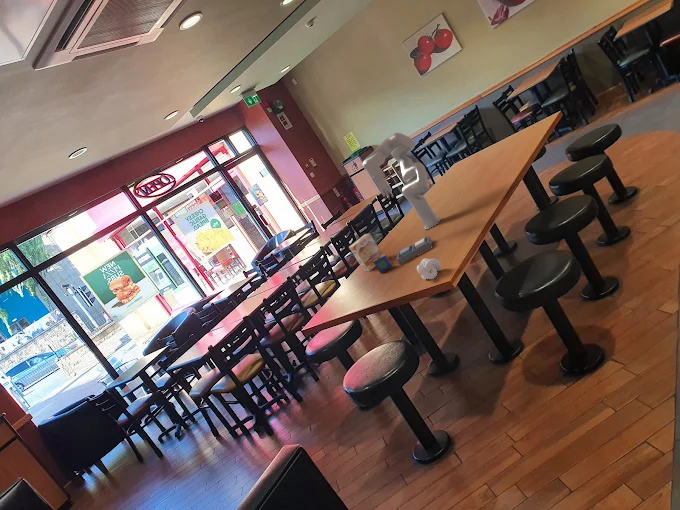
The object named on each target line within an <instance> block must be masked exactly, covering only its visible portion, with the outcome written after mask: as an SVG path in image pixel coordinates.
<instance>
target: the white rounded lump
mask: <svg viewBox="0 0 680 510" xmlns="http://www.w3.org/2000/svg"><path fill="white" fill-rule="evenodd" d="M441 268H442V264H441V261H440V260H439V259H437V258H434V257H433V258H430V259H429V258H423V259H422V260H421V261H420V263H419V264H418V265H417V266H416V271H417V273H418V274H419V275H420V276H421V278H422V279H423V280H424V281H427V280H434V278H435V277H436V276H437V277H438V275H439V272H440V270H441ZM437 271H438V272H437ZM437 274H438V275H437ZM437 277H436V278H437ZM436 278H435V279H436ZM426 279H427V280H426Z"/></svg>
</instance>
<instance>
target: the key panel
mask: <svg viewBox="0 0 680 510" xmlns="http://www.w3.org/2000/svg"><path fill="white" fill-rule="evenodd" d="M423 238H424V239H425V240H426V242H427V243H425V244H423V245H422V246H420V247H418V248H415V243H413V244H412V245H409V246H410V248H411V249H412V251H411V252H409V253H407V254H405V255H403V256H402V257H401V255H400V251H399V252H398V253H397V257H396V261H397V264H399V265H400V266H402V265H404V264H405V263H407V262H409V261H411V260H412V258H413V257H415V256H417V255H418V254H420V253H422V252H424V251H426V250H427V249H429V248H431V246H432V247H433V240H432V239H431V237H430V235H427V236H426V237H423ZM431 249H432V248H431ZM429 250H430V249H429ZM426 252H427V251H426ZM424 253H425V252H424ZM422 254H423V253H422ZM420 255H421V254H420ZM418 256H419V255H418ZM418 256H417V257H418ZM415 258H416V257H415ZM410 259H411V260H410ZM413 259H414V258H413ZM408 260H409V261H408ZM406 261H407V262H406ZM403 263H404V264H403ZM401 264H402V265H401Z"/></svg>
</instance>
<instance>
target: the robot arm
mask: <svg viewBox="0 0 680 510" xmlns="http://www.w3.org/2000/svg"><path fill="white" fill-rule="evenodd" d="M415 146H416V143H415V140H413V138H411V137H410V136H408V135H405V134H403V133H401V132H394V133H393V134H392V135H390V136H388V137H387V138H385V139H384V140H382V142H381V143H380V145H379V146H377V148H375V149H374V150H373V151H372V152H371V153H369V155H367V157H365V158H364V159H363V162H362V167H363V169H364V170H365V171H366V172H367V174H368V175H369V177H370V179H371V180H372V181H373V183H374V184H376V187H377V188H378V190H379V191H380V193H381V195H382V197H383V198H386V197H387V198H388V200H389V202H390V203H391V204H392V205H393V206H394V205H396V204H397V203H398V200H397V199H396V196H395V195H394V194H393V192H392V191H393V189H392V187H391V186H390V184H389V182H388V180H387V179H386V175H385V173H384V172H383V170H382V168H381V167H380V166H382V165H383V164H384V163H385V162H386V159H387V158H388V157H389V156H390V155H391V156H392V157H393V159H395V161H396V162H397V163H398V165H399V166H400V167H399V168H400V171H401V177H402V180H403V182H404V183H406V184H405V185H404V186H402V187H401V192H402V195H403V196H404V198H406V200H407V201H408V202H409V203H410V205H411V206H412V207H413V209H414V212H416V214H417V215H418V217H419V219H420V220H421V222H422V223H423V225H424V226H423V230H424V231H427V230H429V228H430V229H432V228H434V227H435V226H437V225H438V224H439V223H440V222H441V221H442V218H441V217H438V216H437V215H436V213H435V211H434V210H433V208H432V207H431V205H430V203H429V202H428V199H426V198H425V196H423V195H421V194H422V193H424V192H426V191H428V189H429V187H430V185H429V184H430V183H429V178H428V173H427V170H426V166H425V165H424V164H423V163H422V162H419V161H418V162H415V163H414V162H413V160H412V158H410V157H408V156H406V155H407V154H408V153H409V152H411V151H413V150H415V148H416V147H415ZM440 220H441V221H440ZM439 221H440V222H439ZM438 222H439V223H438ZM437 223H438V224H437ZM436 224H437V225H436ZM434 225H435V226H434ZM433 226H434V227H433ZM431 227H432V228H431ZM426 229H427V230H426Z"/></svg>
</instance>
